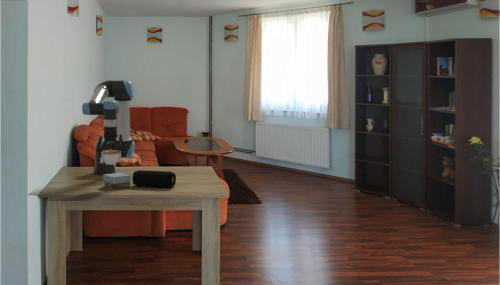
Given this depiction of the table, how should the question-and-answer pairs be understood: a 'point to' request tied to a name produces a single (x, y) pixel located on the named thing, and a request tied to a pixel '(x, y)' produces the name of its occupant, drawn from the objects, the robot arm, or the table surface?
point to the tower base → (117, 185)
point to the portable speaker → (154, 178)
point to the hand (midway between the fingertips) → (110, 162)
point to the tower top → (116, 178)
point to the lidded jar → (110, 156)
